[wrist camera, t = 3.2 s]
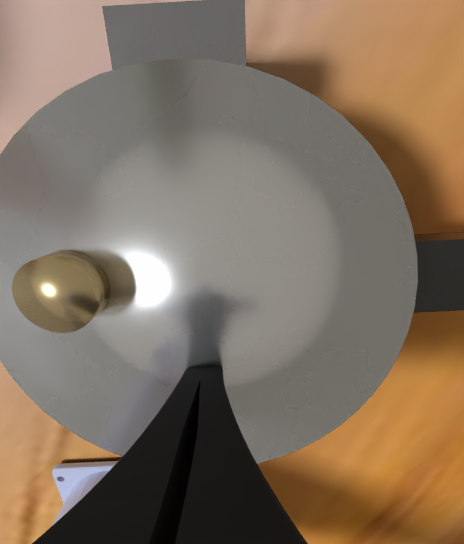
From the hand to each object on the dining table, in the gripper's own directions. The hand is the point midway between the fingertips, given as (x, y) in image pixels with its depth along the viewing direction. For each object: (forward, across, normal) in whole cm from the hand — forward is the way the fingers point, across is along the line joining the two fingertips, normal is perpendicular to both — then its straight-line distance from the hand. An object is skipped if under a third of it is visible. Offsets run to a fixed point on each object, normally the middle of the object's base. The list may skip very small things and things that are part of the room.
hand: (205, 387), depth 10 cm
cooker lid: (+1, 0, -3) cm, 3 cm away
